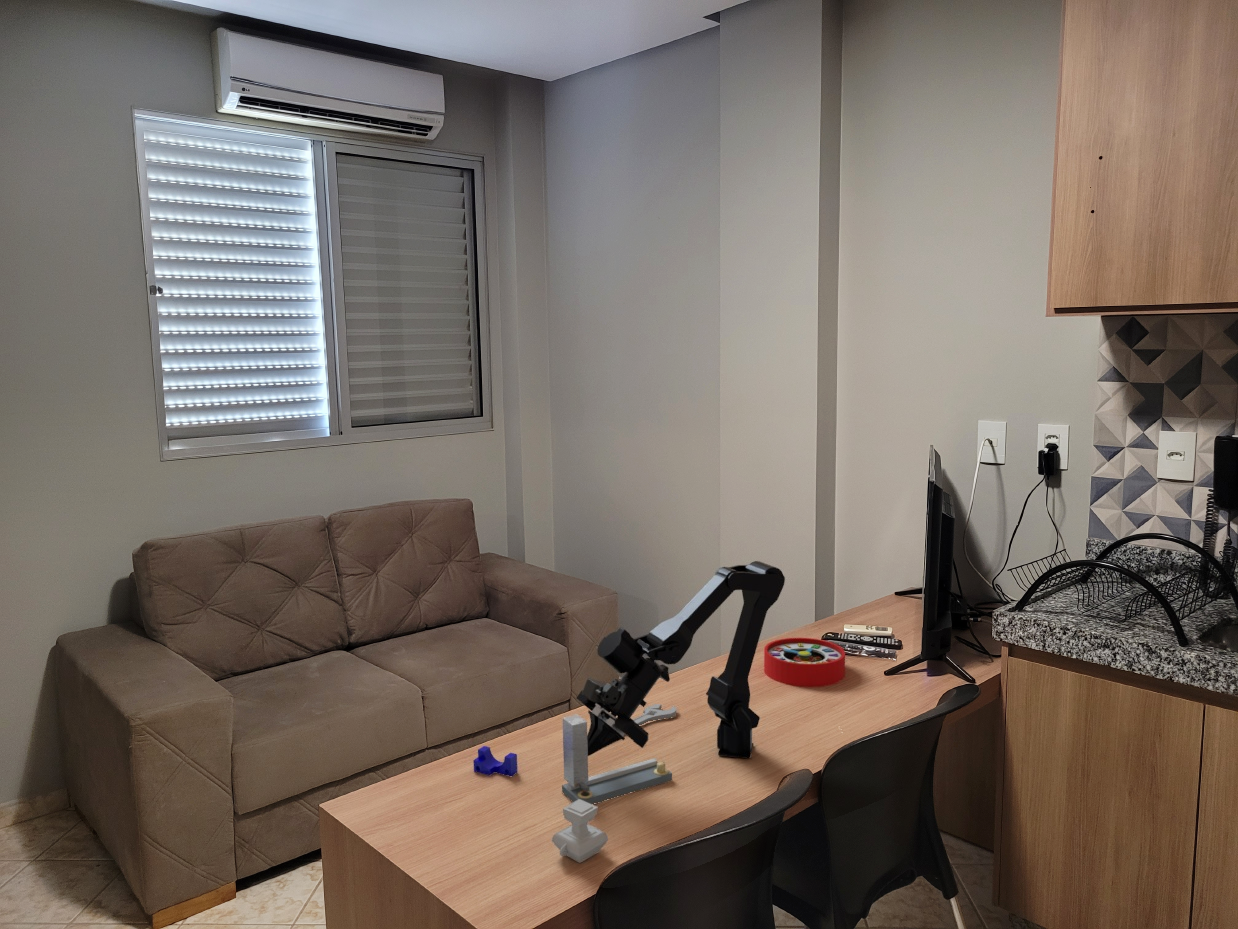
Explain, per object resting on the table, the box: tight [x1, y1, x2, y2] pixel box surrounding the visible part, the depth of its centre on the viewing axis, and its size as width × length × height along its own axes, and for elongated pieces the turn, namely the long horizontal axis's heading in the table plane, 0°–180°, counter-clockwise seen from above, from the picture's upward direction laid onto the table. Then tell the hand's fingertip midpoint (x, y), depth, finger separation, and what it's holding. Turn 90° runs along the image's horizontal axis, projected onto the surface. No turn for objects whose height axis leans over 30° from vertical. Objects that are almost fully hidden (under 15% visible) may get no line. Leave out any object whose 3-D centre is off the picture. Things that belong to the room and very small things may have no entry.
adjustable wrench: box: [631, 703, 677, 725], centre depth 196 cm, size 25×6×2 cm, turn 131°
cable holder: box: [473, 745, 518, 777], centre depth 176 cm, size 8×4×4 cm, turn 61°
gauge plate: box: [561, 757, 673, 805], centre depth 169 cm, size 20×7×3 cm, turn 120°
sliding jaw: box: [562, 713, 589, 793], centre depth 164 cm, size 3×6×13 cm, turn 30°
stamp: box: [551, 799, 609, 864], centre depth 146 cm, size 9×7×8 cm
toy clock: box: [763, 637, 846, 688], centre depth 226 cm, size 20×6×20 cm
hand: (584, 755), depth 166 cm, fingers closed
